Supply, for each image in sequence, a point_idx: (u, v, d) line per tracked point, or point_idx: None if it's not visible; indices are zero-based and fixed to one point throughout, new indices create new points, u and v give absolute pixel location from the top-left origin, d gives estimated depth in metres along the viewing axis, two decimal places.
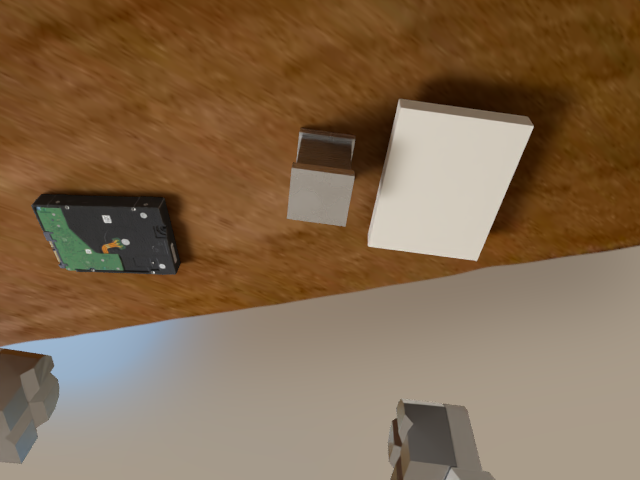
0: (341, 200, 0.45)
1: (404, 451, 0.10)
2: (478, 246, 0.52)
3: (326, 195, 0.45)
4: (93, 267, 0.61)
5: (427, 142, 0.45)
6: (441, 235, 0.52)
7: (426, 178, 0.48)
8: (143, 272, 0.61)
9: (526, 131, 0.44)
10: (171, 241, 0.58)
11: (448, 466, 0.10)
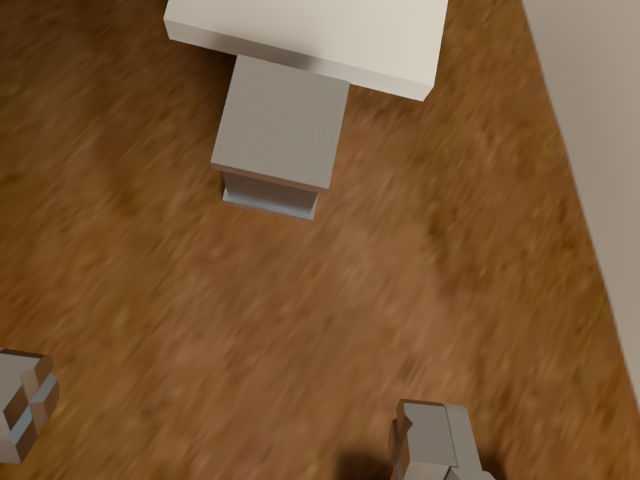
0: (289, 82, 0.24)
1: (404, 451, 0.10)
2: None
3: (276, 107, 0.23)
4: None
5: None
6: None
7: None
8: None
9: None
10: None
11: (448, 466, 0.10)
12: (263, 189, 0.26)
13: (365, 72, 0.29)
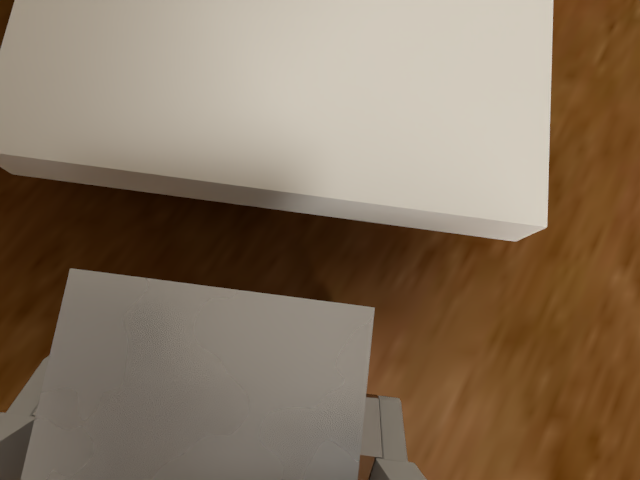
0: (211, 330, 0.09)
1: None
2: None
3: (179, 411, 0.09)
4: None
5: (104, 60, 0.14)
6: None
7: (239, 52, 0.14)
8: None
9: None
10: None
11: (373, 457, 0.10)
12: None
13: (400, 210, 0.14)
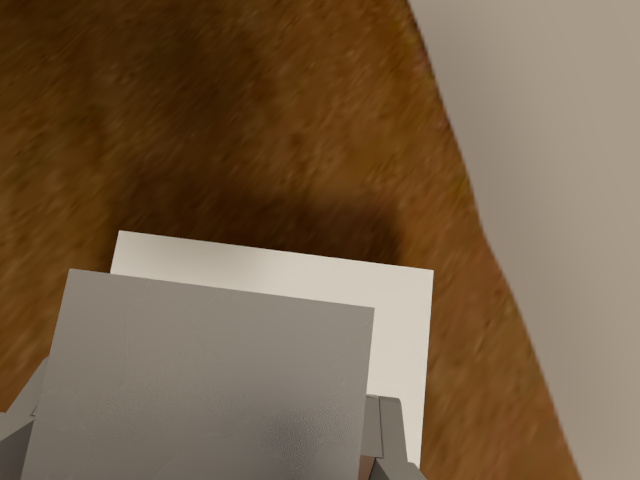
0: (211, 330, 0.09)
1: None
2: (394, 274, 0.25)
3: (178, 411, 0.08)
4: None
5: None
6: (372, 356, 0.24)
7: None
8: None
9: (129, 240, 0.25)
10: None
11: (373, 457, 0.10)
12: None
13: None
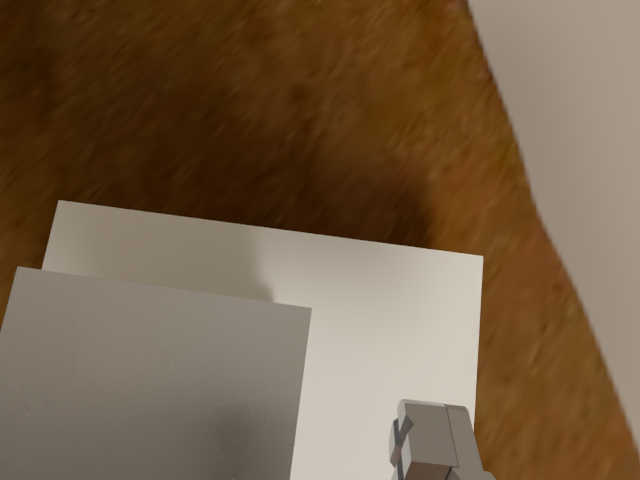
0: (159, 328, 0.09)
1: (405, 451, 0.10)
2: (431, 261, 0.18)
3: (125, 404, 0.09)
4: None
5: None
6: (401, 373, 0.18)
7: None
8: None
9: (71, 213, 0.18)
10: None
11: (449, 466, 0.10)
12: None
13: None
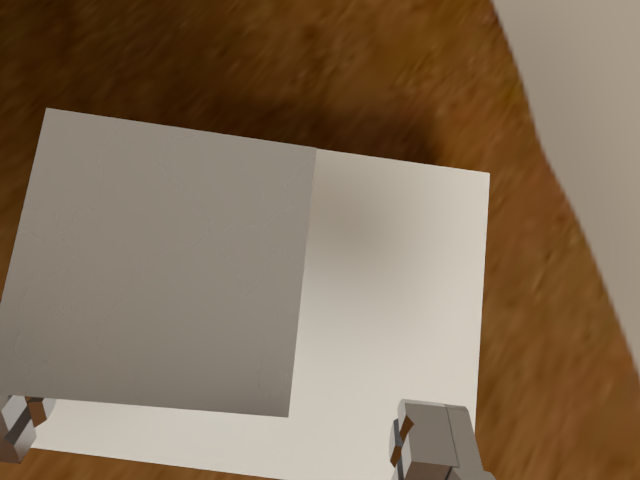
0: (176, 162, 0.10)
1: (405, 451, 0.10)
2: (440, 177, 0.19)
3: (148, 227, 0.10)
4: None
5: None
6: (411, 280, 0.18)
7: None
8: None
9: None
10: None
11: (449, 466, 0.10)
12: None
13: None
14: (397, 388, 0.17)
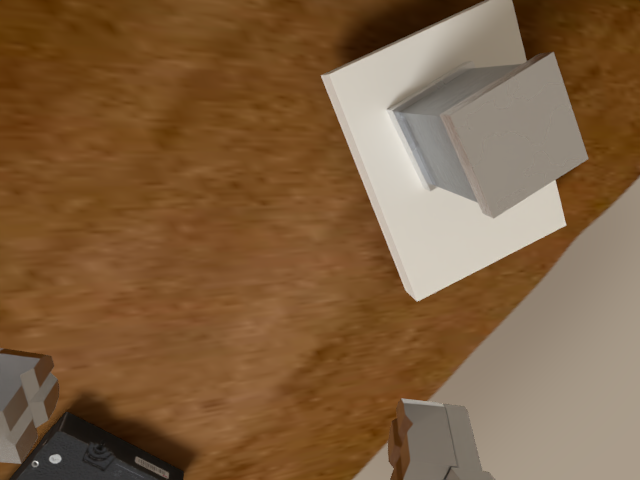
0: (557, 114, 0.23)
1: (404, 451, 0.10)
2: (554, 203, 0.34)
3: (530, 124, 0.23)
4: None
5: (394, 100, 0.29)
6: (499, 220, 0.33)
7: None
8: None
9: (505, 4, 0.29)
10: (131, 456, 0.35)
11: (448, 466, 0.10)
12: (439, 150, 0.26)
13: (395, 249, 0.32)
14: (448, 244, 0.33)
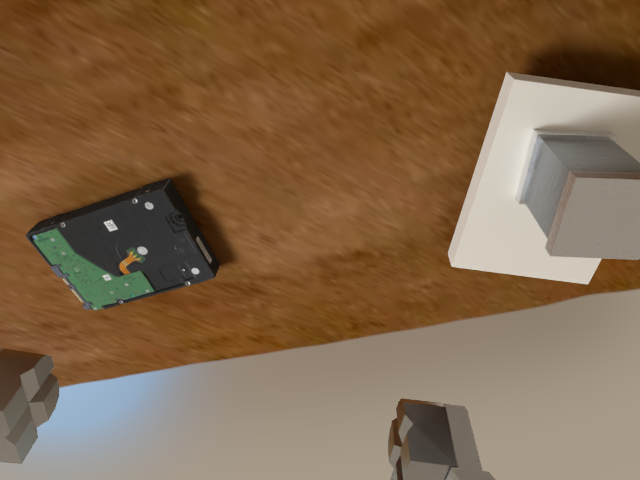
0: None
1: (404, 451, 0.10)
2: (592, 265, 0.41)
3: (620, 215, 0.30)
4: (120, 297, 0.49)
5: (543, 126, 0.35)
6: None
7: None
8: (177, 286, 0.48)
9: None
10: (195, 234, 0.45)
11: (448, 466, 0.10)
12: (548, 187, 0.33)
13: (464, 224, 0.40)
14: (501, 244, 0.41)
